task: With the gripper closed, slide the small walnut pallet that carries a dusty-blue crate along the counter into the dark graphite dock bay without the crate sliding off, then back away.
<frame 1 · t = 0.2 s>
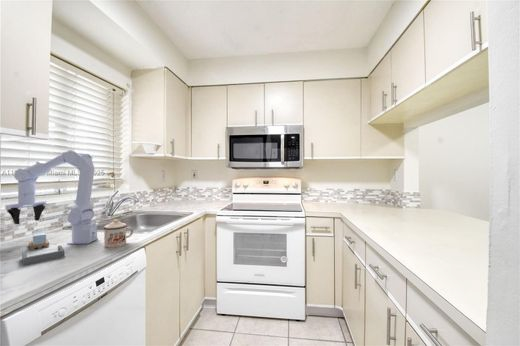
hand: (27, 222, 110), 10 cm above the counter, tool pointing down, fingers open, 7 cm apart
dock: (43, 257, 91), on the counter
teacup with lid: (119, 244, 108), on the counter
crate: (39, 243, 103), point 2 cm above the counter, touching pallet
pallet: (39, 246, 104), on the counter, touching crate
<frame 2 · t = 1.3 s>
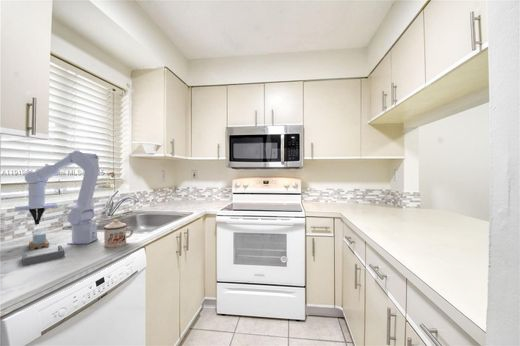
hand: (36, 224, 111), 8 cm above the counter, tool pointing down, fingers closed
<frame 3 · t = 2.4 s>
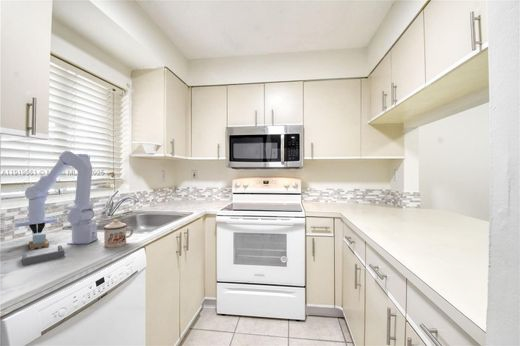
hand: (37, 239, 111), 1 cm above the counter, tool pointing down, fingers closed
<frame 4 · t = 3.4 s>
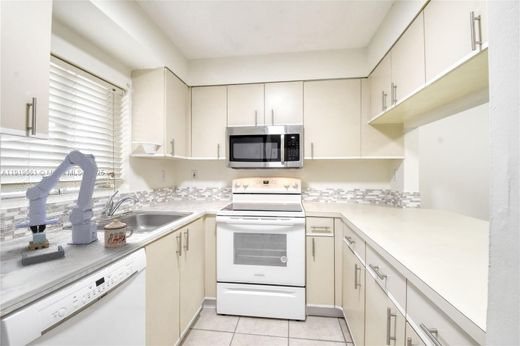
hand: (38, 241, 108), 1 cm above the counter, tool pointing down, fingers closed, pressing on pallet
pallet: (39, 246, 104), on the counter, touching crate, gripper
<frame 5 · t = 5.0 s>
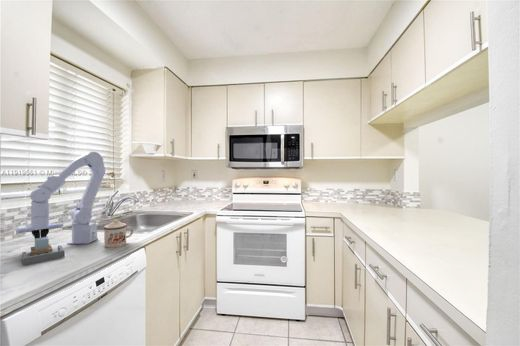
hand: (40, 246, 100), 1 cm above the counter, tool pointing down, fingers closed, pressing on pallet
crate: (41, 248, 96), point 2 cm above the counter, touching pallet
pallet: (41, 252, 96), on the counter, touching crate, gripper
everything else where it was.
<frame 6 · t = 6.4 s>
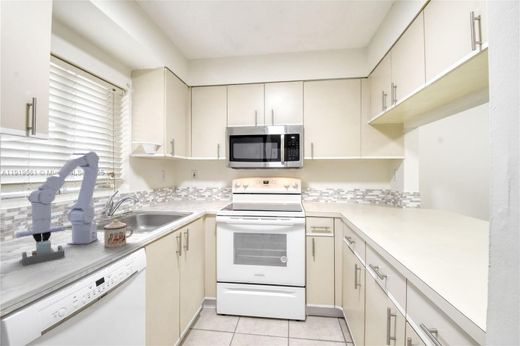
hand: (42, 251, 95), 1 cm above the counter, tool pointing down, fingers closed, pressing on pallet
crate: (43, 252, 91), point 2 cm above the counter, touching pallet
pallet: (43, 256, 91), on the counter, touching crate, dock, gripper
everything else where it was.
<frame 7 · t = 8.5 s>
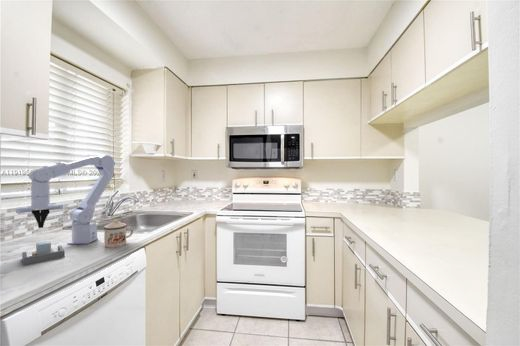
hand: (40, 227, 99), 10 cm above the counter, tool pointing down, fingers closed
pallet: (43, 257, 91), on the counter, touching crate
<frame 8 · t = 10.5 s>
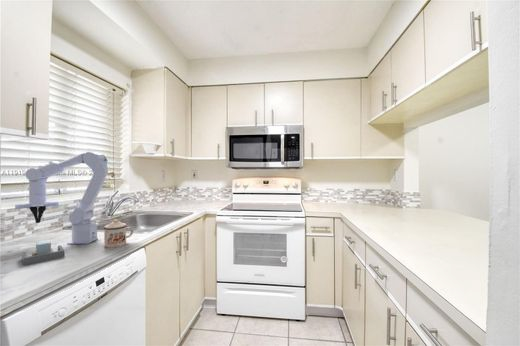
hand: (37, 222, 107), 10 cm above the counter, tool pointing down, fingers closed
nothing on the counter moved.
at the end: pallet 0.5 cm from the dock (horizontally); crate inside the target area on the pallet (0.1 cm from its centre), point 2.0 cm above the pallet's base; crate tilted 0° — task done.
